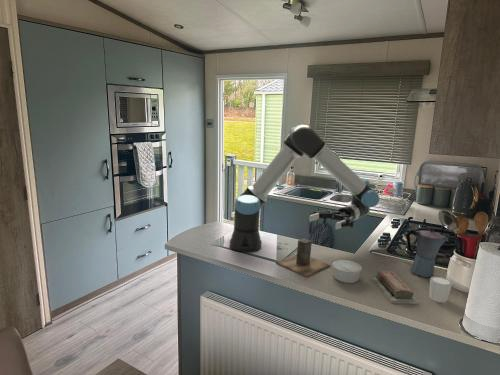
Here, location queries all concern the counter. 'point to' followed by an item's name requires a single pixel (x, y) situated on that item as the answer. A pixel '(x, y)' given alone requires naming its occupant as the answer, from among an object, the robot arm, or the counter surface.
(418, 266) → the moka pot
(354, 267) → the ramekin
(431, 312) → the counter surface
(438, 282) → the white cup
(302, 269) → the board with upright post
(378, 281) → the packaged product
